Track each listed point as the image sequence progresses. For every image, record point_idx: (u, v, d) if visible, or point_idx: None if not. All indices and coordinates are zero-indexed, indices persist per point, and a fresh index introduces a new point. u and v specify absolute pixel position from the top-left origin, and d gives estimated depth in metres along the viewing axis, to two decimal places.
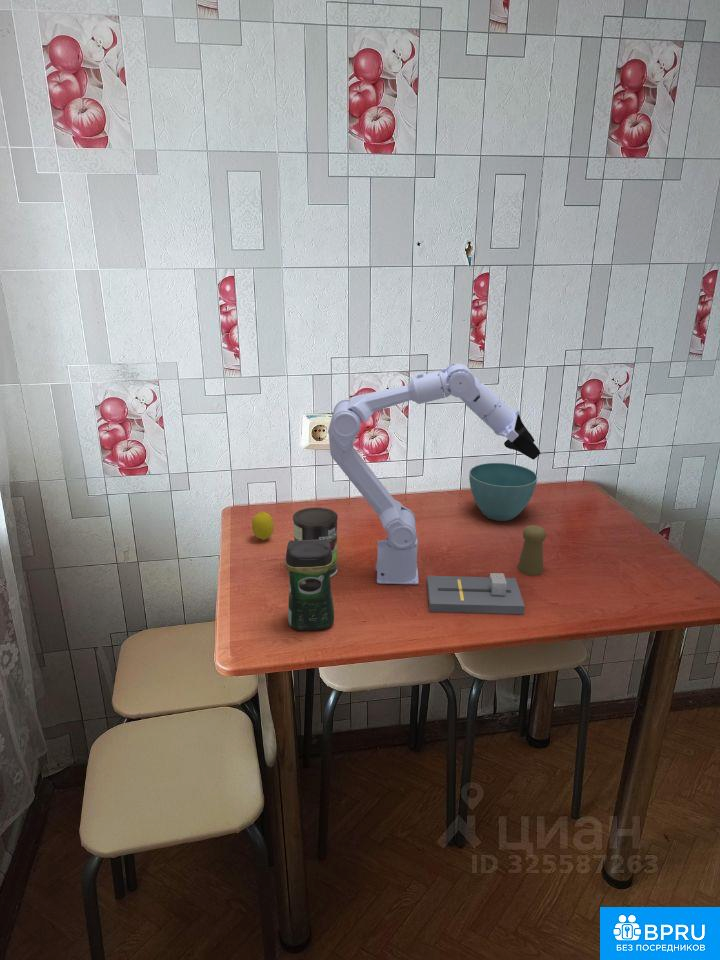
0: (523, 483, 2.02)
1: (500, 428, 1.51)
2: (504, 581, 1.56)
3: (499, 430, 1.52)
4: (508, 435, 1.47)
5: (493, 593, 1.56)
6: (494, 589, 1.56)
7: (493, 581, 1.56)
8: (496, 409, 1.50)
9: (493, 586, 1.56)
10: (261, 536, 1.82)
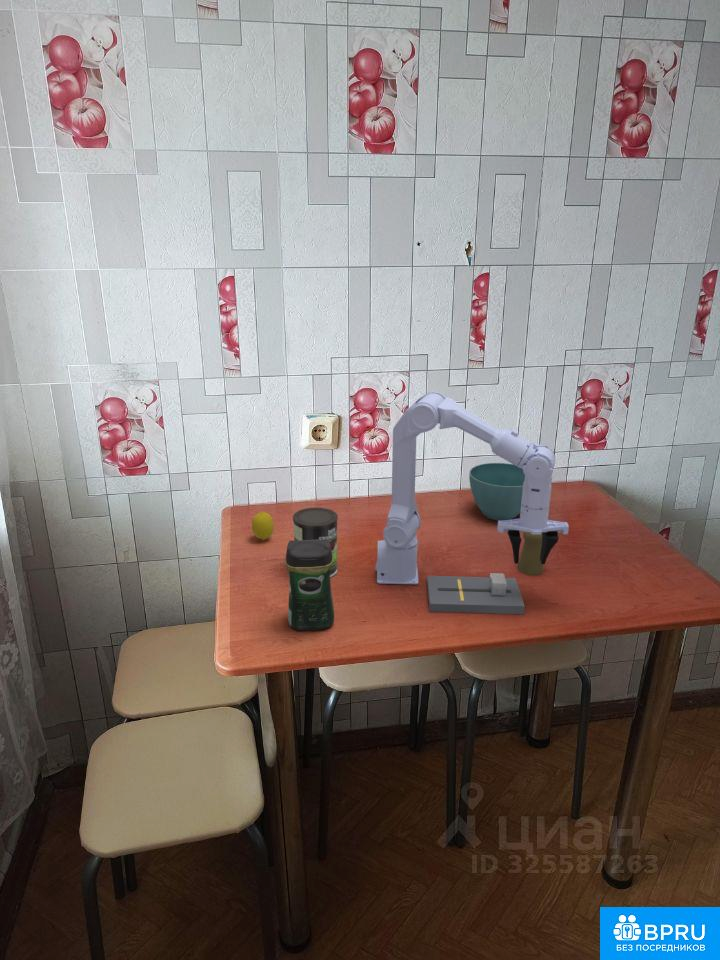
0: None
1: (520, 519, 1.53)
2: (504, 581, 1.56)
3: None
4: (498, 522, 1.53)
5: (493, 593, 1.56)
6: (494, 589, 1.56)
7: (493, 581, 1.56)
8: (523, 508, 1.50)
9: (493, 586, 1.56)
10: (261, 536, 1.82)
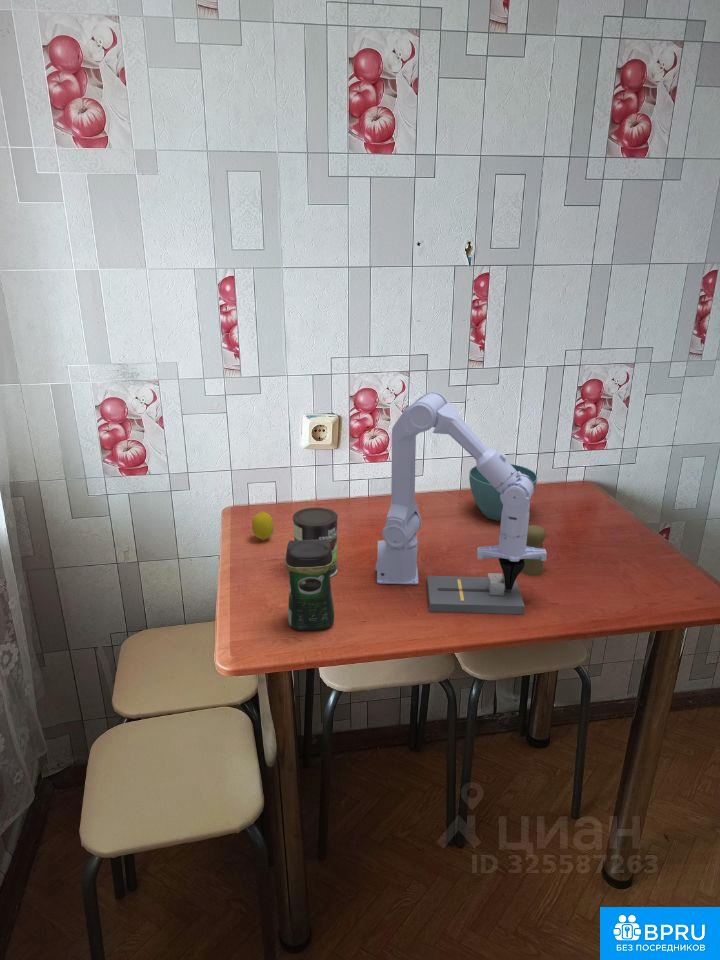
0: None
1: None
2: (502, 581, 1.56)
3: None
4: (477, 549, 1.55)
5: (491, 593, 1.56)
6: (492, 589, 1.56)
7: (491, 581, 1.56)
8: (502, 535, 1.52)
9: (491, 586, 1.56)
10: (261, 536, 1.82)
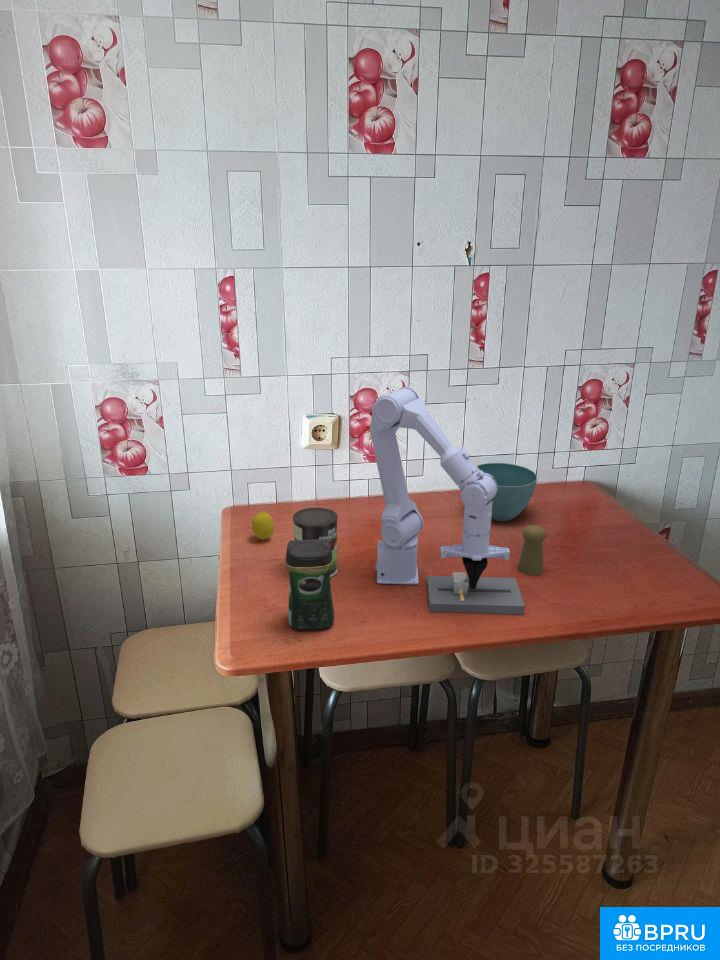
0: (523, 483, 2.02)
1: None
2: (466, 580, 1.56)
3: None
4: (441, 548, 1.56)
5: (455, 592, 1.57)
6: (456, 588, 1.56)
7: (455, 580, 1.56)
8: (464, 534, 1.52)
9: (455, 585, 1.56)
10: (261, 536, 1.82)
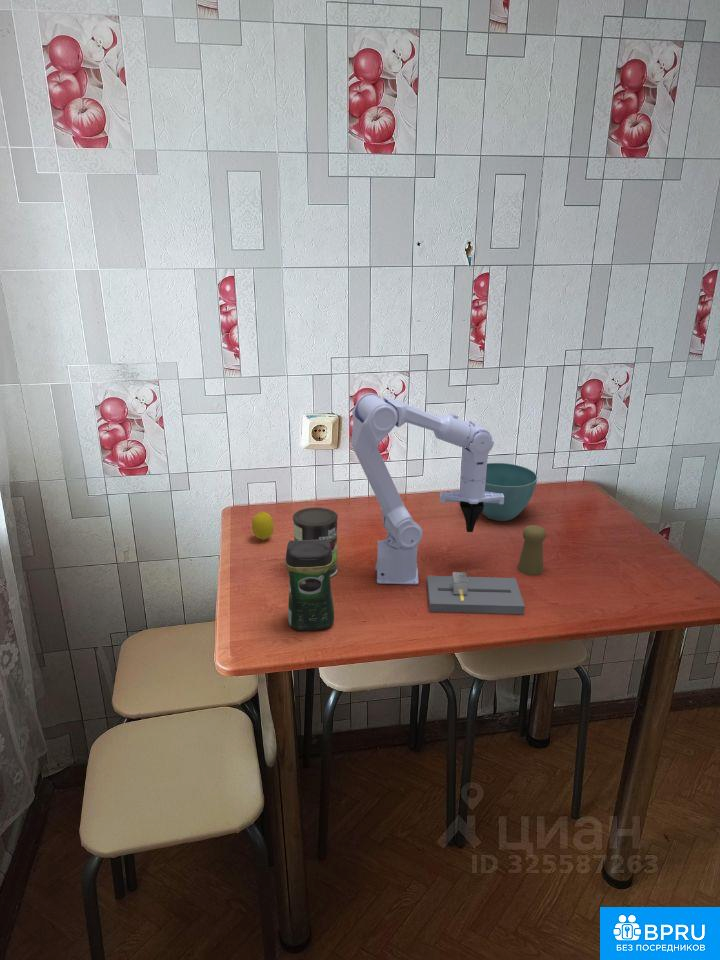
0: (523, 483, 2.02)
1: None
2: (466, 580, 1.56)
3: None
4: (440, 494, 1.67)
5: (455, 592, 1.57)
6: (456, 588, 1.56)
7: (455, 580, 1.56)
8: (462, 480, 1.64)
9: (455, 585, 1.56)
10: (261, 536, 1.82)
